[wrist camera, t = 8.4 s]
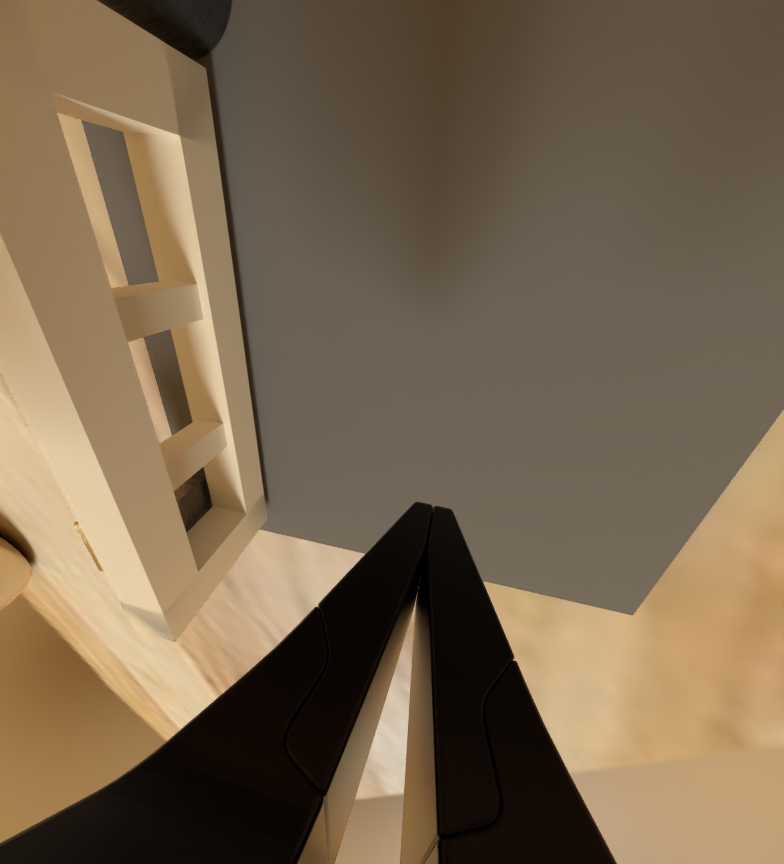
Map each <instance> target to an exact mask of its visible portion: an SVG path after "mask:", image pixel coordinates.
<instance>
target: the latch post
mask: <svg viewBox="0 0 784 864" xmlns="http://www.w3.org/2000/svg"><path fill="white" fill-rule="evenodd" d="M174 495H175V498H176V501H177V504H178V507H179V511H180V514H181V517H182V520H183V524H184V527H185V530H186V533H187V532H188V531H189V530H190V529H191V528H192V527H193V526H194V525H195V524H196V523H197V522H198V521H199V520H200V519H201V518H202V517H203V516H204V515H205V514H206V513H207V512H208V511H209V510H210V509H211V508H212V507H213V505H212V500H211V496H210V492H209V488H208V484H207V480H206V475H205V471H204V467H202V468H201V469H200V470H199V471H198V472H196V473H195V474H194V475H193V476H192V477H190V478H189V479H188V480H187V481H186V482H184V483H183V484H182V485H181V486H180V487H178V488H177V489H176V490H175V491H174ZM74 524H75V526H76V528H77V530H78V532H79V534H80V535H81V537H82V539H83V541H84V543H85V545H86V547H87V549H88V550H89V552H90V554H91V556H92V558H93V560H94V562H95V563H96V565H97V567H98V569H99V570H100V571H103V569H102V567H101V566H100V564H99V562H98V560H97V558H96V556H95V554H94V552H93V550H92V548H91V546H90V544H89V543H88V541H87V539H86V537H85V535H84V533H83V531H82V529H81V527H80V525H79V523H78V521H77V522H75V523H74Z"/></svg>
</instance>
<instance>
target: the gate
mask: <svg viewBox="0 0 784 864" xmlns="http://www.w3.org/2000/svg"><path fill="white" fill-rule="evenodd" d="M57 113H60V114H64V115H67V116H71V117H74V118H77V119H81V120H84V121H87V122H91V123H94V124H98V125H101V126H104V127H108V128H111V129H114V130H118V131H121V132H123V134H124V138H125V142H126V146H127V150H128V154H129V159H130V163H131V167H132V171H133V175H134V179H135V184H136V188H137V192H138V196H139V200H140V204H141V209H142V213H143V217H144V221H145V225H146V229H147V234H148V238H149V242H150V246H151V250H152V254H153V259H154V263H155V267H156V271H157V275H158V279H159V282H152V283H145V284H138V285H131V286H124V287H117V288H111V287H110V284H109V280H108V277H107V274H106V271H105V267H104V264H103V261H102V258H101V254H100V251H99V248H98V245H97V241H96V238H95V235H94V232H93V228H92V225H91V222H90V219H89V215H88V212H87V209H86V206H85V202H84V199H83V196H82V193H81V189H80V186H79V183H78V180H77V176H76V173H75V170H74V167H73V164H72V160H71V157H70V154H69V151H68V147H67V144H66V141H65V138H64V134H63V131H62V128H61V125H60V121H59V118H58V115H57ZM169 329H171V334H172V338H173V342H174V346H175V350H176V355H177V359H178V363H179V367H180V371H181V375H182V380H183V384H184V388H185V392H186V396H187V400H188V405H189V409H190V413H191V417H192V421H193V422H192V423H191V424H189V425H188V426H186V427H185V428H183V429H182V430H180V431H179V432H177V433H176V434H174V435H173V436H171V437H170V438H168V439H166V440H165V441H163V442H162V443H160V444H159V443H158V439H157V436H156V433H155V430H154V426H153V423H152V420H151V417H150V413H149V410H148V407H147V404H146V400H145V397H144V394H143V391H142V387H141V384H140V381H139V378H138V374H137V371H136V368H135V365H134V361H133V358H132V355H131V352H130V348H129V345H128V342H129V341H133V340H136V339H139V338H143V337H146V336H149V335H152V334H156V333H159V332H162V331H166V330H169ZM0 374H1V376H2V378H3V380H4V381H5V383H6V385H7V387H8V389H9V391H10V393H11V395H12V397H13V399H14V401H15V403H16V404H17V406H18V408H19V410H20V412H21V414H22V416H23V418H24V420H25V422H26V424H27V426H28V428H29V429H30V431H31V433H32V435H33V437H34V439H35V441H36V443H37V445H38V447H39V449H40V451H41V452H42V454H43V456H44V458H45V460H46V462H47V464H48V466H49V468H50V470H51V472H52V474H53V475H54V477H55V479H56V481H57V483H58V485H59V487H60V489H61V491H62V493H63V495H64V497H65V498H66V500H67V502H68V504H69V506H70V508H71V510H72V512H73V514H74V516H75V518H76V520H77V521H78V523H79V525H80V527H81V529H82V531H83V533H84V535H85V537H86V539H87V541H88V543H89V544H90V546H91V548H92V550H93V552H94V554H95V556H96V558H97V560H98V562H99V564H100V566H101V567H102V569H103V571H104V573H105V575H106V577H107V579H108V581H109V583H110V585H111V587H112V589H113V591H114V592H115V594H116V596H117V598H118V600H119V602H120V604H121V606H122V608H123V610H124V612H125V614H126V615H127V617H128V619H129V621H130V623H131V625H132V627H133V629H134V630H136V631H139V632H143V633H146V634H149V635H153V636H156V637H159V638H163V639H166V640H170V641H173V642H176V641H177V639H178V638H179V637H180V635H181V634H182V633H183V631H184V630H185V629H186V627H187V626H188V624H189V623H190V622H191V620H192V619H193V618H194V616H195V615H196V614H197V612H198V611H199V610H200V608H201V607H202V606H203V604H204V603H205V602H206V600H207V599H208V598H209V596H210V595H211V594H212V592H213V591H214V590H215V588H216V587H217V585H218V584H219V583H220V581H221V580H222V579H223V577H224V576H225V575H226V573H227V572H228V571H229V569H230V568H231V567H232V565H233V564H234V563H235V561H236V560H237V559H238V557H239V556H240V555H241V553H242V552H243V551H244V549H245V548H246V546H247V545H248V544H249V542H250V541H251V540H252V538H253V537H254V536H255V534H256V533H257V532H258V530H259V529H260V528H261V526H262V525H263V524H264V522H265V521H266V520H267V513H266V505H265V498H264V491H263V483H262V476H261V469H260V461H259V454H258V447H257V439H256V432H255V425H254V417H253V410H252V403H251V395H250V388H249V381H248V373H247V366H246V359H245V351H244V344H243V337H242V329H241V322H240V315H239V307H238V300H237V293H236V285H235V278H234V271H233V263H232V256H231V249H230V241H229V234H228V226H227V219H226V212H225V204H224V197H223V190H222V182H221V175H220V168H219V160H218V153H217V146H216V138H215V131H214V124H213V116H212V109H211V102H210V94H209V87H208V80H207V72H206V68H205V67H203V66H202V65H200V64H198V63H197V62H195V61H193V60H192V59H190V58H189V57H187V56H185V55H184V54H182V53H181V52H179V51H177V50H176V49H174V48H173V47H171V46H169V45H168V44H166V43H165V42H163V41H161V40H160V39H158V38H157V37H155V36H153V35H152V34H150V33H149V32H147V31H145V30H144V29H142V28H140V27H139V26H137V25H136V24H134V23H132V22H131V21H129V20H128V19H126V18H124V17H123V16H121V15H120V14H118V13H116V12H115V11H113V10H112V9H110V8H108V7H107V6H105V5H104V4H102V3H100V2H99V1H97V0H0ZM202 467H204V471H205V475H206V480H207V484H208V488H209V492H210V496H211V500H212V505H213V507H212V508H211V509H210V510H209V511H208V512H207V513H206V514H205V515H204V516H203V517H202V518H201V519H200V520H199V521H198V522H197V523H196V524H195V525H194V526H193V527H192V528H191V529H190V530H189V531H188V532H187V533H186V530H185V527H184V524H183V520H182V517H181V514H180V511H179V507H178V504H177V501H176V498H175V495H174V491H175V490H176V489H177V488H178V487H180V486H181V485H182V484H183V483H184V482H186V481H187V480H188V479H189V478H190V477H192V476H193V475H194V474H195V473H196V472H198V471H199V470H200V469H201V468H202Z"/></svg>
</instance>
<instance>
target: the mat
mask: <svg viewBox="0 0 784 864" xmlns="http://www.w3.org/2000/svg"><path fill="white" fill-rule="evenodd" d="M192 60H193V61H195V62H197V63H198V64H200V65H202V66H203V67H205V68H206V72H207V80H208V87H209V94H210V102H211V109H212V116H213V124H214V131H215V138H216V146H217V153H218V160H219V168H220V175H221V182H222V190H223V197H224V204H225V212H226V219H227V226H228V234H229V241H230V249H231V256H232V263H233V271H234V278H235V285H236V293H237V300H238V307H239V315H240V322H241V329H242V337H243V344H244V351H245V359H246V366H247V373H248V381H249V388H250V395H251V403H252V410H253V417H254V425H255V432H256V439H257V447H258V454H259V461H260V469H261V476H262V483H263V491H264V498H265V505H266V513H267V520H266V521H265V522H264V524H263V525H262V526H261V528H260V529H261V530H265V531H269V532H274V533H278V534H282V535H287V536H291V537H295V538H300V539H304V540H308V541H313V542H317V543H321V544H326V545H330V546H334V547H339V548H343V549H347V550H352V551H356V552H360V553H365V554H366V553H367V552H368V551H369V550H370V549H371V548H372V547H373V546H374V545H375V544H376V542H377V541H378V540H379V539H380V538H381V537H382V536H383V535H384V534H385V533H386V532H387V531H388V530H389V529H390V528H391V527H392V526H393V524H394V523H395V522H396V521H397V520H398V519H399V518H400V517H401V516H402V515H403V514H404V513H405V512H406V511H407V510H408V509H409V508H410V507H411V505H412V504H413V503H415V502H422V503H427V504H431V505H432V506H433V508H434V506H441V507H446V508H450V509H452V511H453V512H454V515H455V517H456V519H457V522H458V524H459V527H460V529H461V531H462V534H463V536H464V538H465V541H466V543H467V545H468V548H469V550H470V553H471V555H472V557H473V560H474V562H475V564H476V567H477V569H478V572H479V574H480V576H481V579H482V581H486V582H490V583H495V584H499V585H503V586H508V587H512V588H516V589H521V590H525V591H529V592H534V593H538V594H542V595H547V596H551V597H555V598H560V599H564V600H568V601H573V602H577V603H581V604H586V605H590V606H594V607H599V608H603V609H607V610H612V611H616V612H620V613H625V614H629V615H633V614H634V613H635V612H636V610H637V609H638V608H639V606H640V605H641V603H642V602H643V601H644V599H645V598H646V597H647V595H648V594H649V593H650V591H651V590H652V588H653V587H654V586H655V584H656V583H657V582H658V580H659V579H660V577H661V576H662V575H663V573H664V572H665V571H666V569H667V568H668V567H669V565H670V564H671V562H672V561H673V560H674V558H675V557H676V556H677V554H678V553H679V552H680V550H681V549H682V547H683V546H684V545H685V543H686V542H687V541H688V539H689V538H690V536H691V535H692V534H693V532H694V531H695V530H696V528H697V527H698V526H699V524H700V523H701V521H702V520H703V519H704V517H705V516H706V515H707V513H708V512H709V511H710V509H711V508H712V506H713V505H714V504H715V502H716V501H717V500H718V498H719V497H720V495H721V494H722V493H723V491H724V490H725V489H726V487H727V486H728V485H729V483H730V482H731V480H732V479H733V478H734V476H735V475H736V474H737V472H738V471H739V470H740V468H741V467H742V465H743V464H744V463H745V461H746V460H747V459H748V457H749V456H750V455H751V453H752V452H753V450H754V449H755V448H756V446H757V445H758V444H759V442H760V441H761V439H762V438H763V437H764V435H765V434H766V433H767V431H768V430H769V429H770V427H771V426H772V424H773V423H774V422H775V420H776V419H777V418H778V416H779V415H780V414H781V412H782V411H783V409H784V0H232V8H231V13H230V18H229V21H228V25H227V28H226V30H225V32H224V35H223V37H222V38H221V40H220V42H219V43H218V45H217V46H216V47H215V48H214V49H213V50H212V51H211V52H210V53H208V54H207V55H205V56H203V57H201V58H197V59H192ZM82 123H83V127H84V130H85V134H86V137H87V141H88V144H89V148H90V151H91V155H92V158H93V162H94V165H95V169H96V172H97V176H98V179H99V183H100V186H101V190H102V193H103V197H104V200H105V203H106V207H107V210H108V214H109V217H110V221H111V224H112V228H113V231H114V235H115V238H116V242H117V245H118V249H119V252H120V256H121V259H122V263H123V266H124V270H125V273H126V277H127V280H128V284H129V286H131V285H138V284H145V283H152V282H159V279H158V275H157V271H156V267H155V263H154V259H153V254H152V250H151V246H150V242H149V238H148V234H147V229H146V225H145V221H144V217H143V213H142V209H141V204H140V200H139V196H138V192H137V188H136V184H135V179H134V175H133V171H132V167H131V163H130V159H129V154H128V150H127V146H126V142H125V138H124V134H123V132H121V131H118V130H114V129H111V128H108V127H104V126H101V125H98V124H94V123H91V122H87V121H84V120H82ZM144 339H145V343H146V346H147V350H148V353H149V357H150V360H151V364H152V367H153V371H154V374H155V378H156V381H157V385H158V388H159V392H160V395H161V399H162V402H163V406H164V409H165V413H166V416H167V420H168V423H169V426H170V430H171V433H172V436H173V435H174V434H176V433H177V432H179V431H180V430H182V429H183V428H185V427H186V426H188V425H189V424H191V423H192V422H193V421H192V417H191V413H190V409H189V405H188V400H187V396H186V392H185V388H184V384H183V380H182V375H181V371H180V367H179V363H178V359H177V355H176V350H175V346H174V342H173V338H172V334H171V329H169V330H166V331H162V332H159V333H156V334H152V335H149V336H146V337H144ZM432 512H433V511H432Z"/></svg>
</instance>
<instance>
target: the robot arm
mask: <svg viewBox="0 0 784 864" xmlns="http://www.w3.org/2000/svg"><path fill="white" fill-rule="evenodd" d="M432 511H433V512H432ZM420 576H421V577H420ZM419 581H420V582H419ZM418 587H419V588H418ZM417 592H418V593H417ZM416 597H417V600H416ZM415 601H416V608H415V622H414V638H413V655H412V672H411V688H410V705H409V722H408V738H407V755H406V772H405V788H404V805H403V822H402V839H401V855H400V864H617V863H616V861H615V859H614V857H613V855H612V853H611V852H610V850H609V848H608V846H607V844H606V842H605V840H604V838H603V837H602V835H601V833H600V831H599V829H598V827H597V825H596V823H595V821H594V820H593V818H592V816H591V814H590V812H589V810H588V808H587V806H586V804H585V802H584V800H583V799H582V797H581V795H580V793H579V791H578V789H577V787H576V785H575V783H574V782H573V780H572V778H571V776H570V774H569V772H568V770H567V768H566V766H565V764H564V762H563V760H562V758H561V756H560V754H559V752H558V750H557V748H556V746H555V744H554V742H553V740H552V739H551V737H550V735H549V733H548V731H547V729H546V727H545V725H544V722H543V720H542V718H541V716H540V714H539V711H538V709H537V707H536V705H535V703H534V700H533V698H532V696H531V694H530V691H529V689H528V687H527V685H526V682H525V680H524V678H523V675H522V673H521V670H520V668H519V666H518V663H517V662H516V661H513V660H514V654H513V652H512V650H511V647H510V645H509V643H508V640H507V638H506V635H505V633H504V631H503V628H502V626H501V624H500V621H499V619H498V616H497V614H496V612H495V609H494V607H493V605H492V602H491V600H490V598H489V595H488V593H487V590H486V588H485V586H484V583H483V581H482V579H481V576H480V574H479V572H478V569H477V567H476V564H475V562H474V560H473V557H472V555H471V553H470V550H469V548H468V545H467V543H466V541H465V538H464V536H463V534H462V531H461V529H460V527H459V524H458V522H457V519H456V517H455V515H454V512H453V511H452V509H450V508H446V507H441V506H434V508H433V506H432V505H431V504H427V503H422V502H415V503H413V504H412V505H411V507H410V508H409V509H408V510H407V511H406V512H405V513H404V514H403V515H402V516H401V517H400V518H399V519H398V520H397V521H396V522H395V523H394V524H393V526H392V527H391V528H390V529H389V530H388V531H387V532H386V533H385V534H384V535H383V536H382V537H381V538H380V539H379V540H378V541H377V542H376V544H375V545H374V546H373V547H372V548H371V549H370V550H369V551H368V552H367V553H366V554H365V555H364V556H363V557H362V558H361V559H360V560H359V561H358V563H357V564H356V565H355V566H354V567H353V568H352V569H351V570H350V571H349V572H348V573H347V574H346V575H345V576H344V577H343V578H342V579H341V581H340V582H339V583H338V584H337V585H336V586H335V587H334V588H333V589H332V590H331V591H330V592H329V593H328V594H327V595H326V596H325V597H324V598H323V600H322V601H321V602H320V603H319V604H318V607H315V608H314V609H313V610H312V611H311V612H310V613H309V614H308V615H307V616H306V617H305V618H304V619H303V620H302V621H301V623H300V624H299V625H298V626H297V627H296V628H295V629H294V630H293V631H292V632H291V633H290V634H288V635H287V636H286V637H285V638H284V639H283V640H282V641H281V642H280V643H279V644H278V645H277V646H276V647H275V648H274V649H273V650H272V651H271V652H270V653H269V654H267V655H266V656H265V657H264V658H263V659H262V660H261V661H260V662H259V663H257V664H256V665H255V666H254V667H253V668H252V669H251V670H250V671H249V672H247V673H246V674H245V675H244V676H243V677H242V678H240V679H239V680H238V681H237V682H236V683H235V684H233V685H232V686H231V687H230V688H229V689H228V690H226V691H225V692H224V693H223V694H222V695H220V696H219V697H218V698H217V699H216V700H215V701H213V702H212V703H211V704H210V705H209V706H208V707H206V708H205V709H204V710H203V711H202V712H201V713H199V714H198V715H197V716H196V717H195V718H194V719H192V720H191V721H190V722H189V723H188V724H187V725H185V726H184V727H183V728H182V729H181V730H180V731H178V732H177V733H176V734H175V735H174V736H173V737H171V738H170V739H169V740H168V741H167V742H165V743H164V744H163V745H162V746H161V747H159V748H158V749H157V750H156V751H155V752H153V753H152V754H151V755H150V756H148V757H147V758H146V759H144V760H143V761H142V762H140V763H139V764H138V765H136V766H135V767H134V768H132V769H131V770H129V771H128V772H126V773H125V774H123V775H122V776H120V777H119V778H117V779H116V780H114V781H113V782H111V783H109V784H108V785H106V786H104V787H103V788H101V789H100V790H98V791H96V792H94V793H93V794H91V795H89V796H87V797H85V798H83V799H82V800H80V801H78V802H76V803H74V804H72V805H70V806H68V807H67V808H65V809H63V810H61V811H59V812H57V813H56V814H54V815H52V816H50V817H48V818H46V819H44V820H42V821H41V822H39V823H37V824H35V825H33V826H31V827H30V828H28V829H26V830H24V831H22V832H20V833H18V834H16V835H15V836H13V837H11V838H9V839H7V840H5V841H3V842H1V843H0V864H335V861H336V857H337V854H338V851H339V848H340V844H341V841H342V838H343V835H344V831H345V828H346V825H347V822H348V818H349V815H350V812H351V809H352V806H353V803H354V799H355V796H356V793H357V790H358V787H359V783H360V780H361V777H362V774H363V770H364V767H365V764H366V761H367V758H368V754H369V751H370V748H371V745H372V742H373V738H374V735H375V732H376V729H377V725H378V722H379V719H380V716H381V713H382V709H383V706H384V703H385V700H386V696H387V693H388V690H389V687H390V684H391V680H392V677H393V674H394V671H395V668H396V664H397V661H398V658H399V655H400V651H401V648H402V645H403V642H404V639H405V635H406V632H407V629H408V626H409V622H410V619H411V616H412V613H413V609H414V605H415Z"/></svg>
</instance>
